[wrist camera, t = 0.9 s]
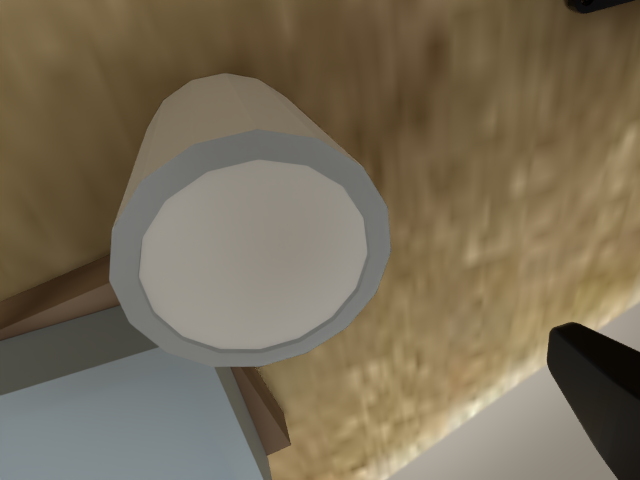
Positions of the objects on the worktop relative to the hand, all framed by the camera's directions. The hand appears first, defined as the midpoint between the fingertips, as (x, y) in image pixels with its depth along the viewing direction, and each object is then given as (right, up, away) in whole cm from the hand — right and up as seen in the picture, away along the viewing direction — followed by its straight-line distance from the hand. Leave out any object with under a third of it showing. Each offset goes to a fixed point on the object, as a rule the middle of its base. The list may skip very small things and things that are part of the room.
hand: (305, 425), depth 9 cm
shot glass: (-3, +6, +10) cm, 12 cm away
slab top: (-8, -4, +12) cm, 16 cm away
